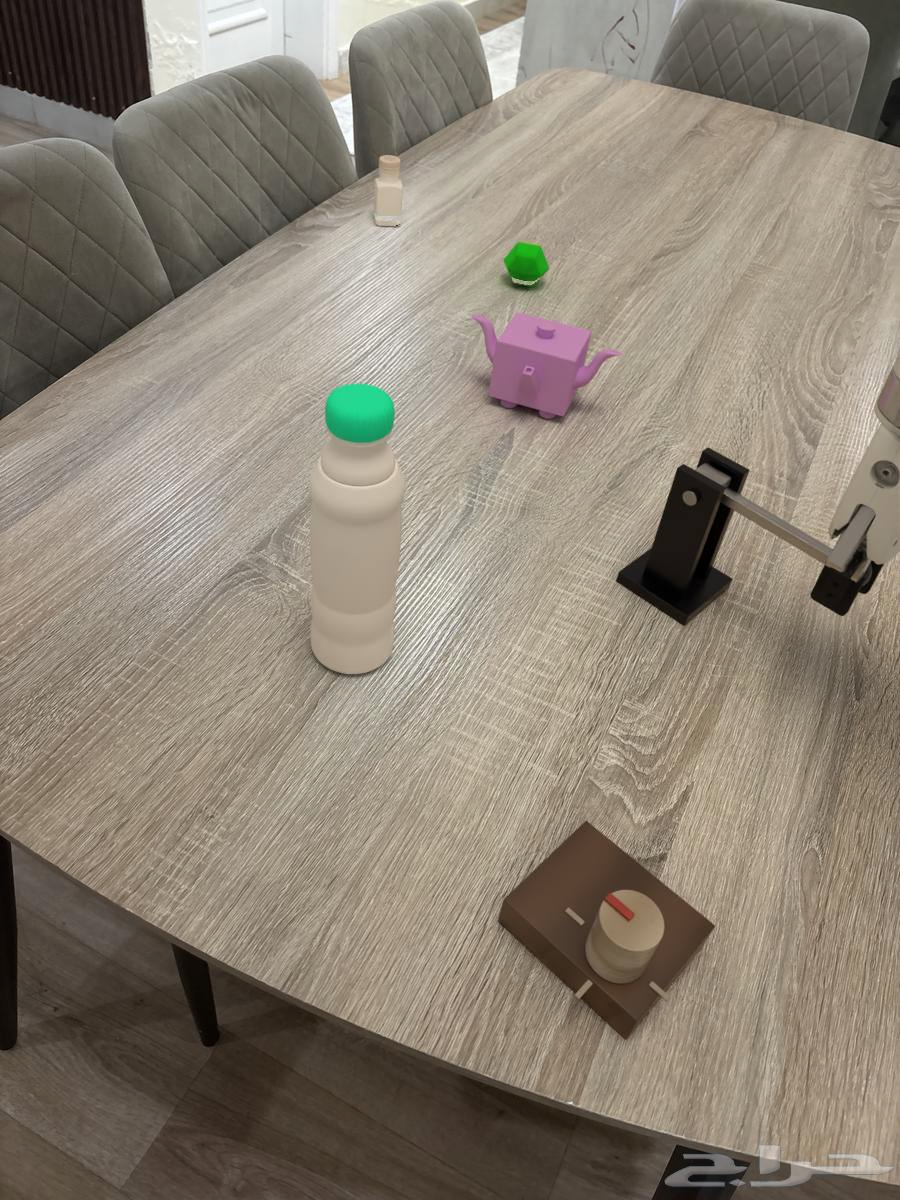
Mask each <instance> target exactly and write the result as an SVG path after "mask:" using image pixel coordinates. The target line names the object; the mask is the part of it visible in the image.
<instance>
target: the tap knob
mask: <svg viewBox="0 0 900 1200" xmlns="http://www.w3.org/2000/svg"><path fill="white" fill-rule="evenodd" d="M663 934H664V919H663V916H662V913H661V911H660V910H659V908H658V907H657V905H656V904H655V903H654V902H653V901H652V900H651V899H650V898H648V897H647V896H645V895H644V894H642V893H640V892H637V891H633V890H619V891H616V892H613V893H609V894H608V895H607V896H606V898H605V899H604V901H603V902H602V904H601V906H600V909H599V911H598V914H597V916H596V918H595V921H594V923H593V926H592V928H591V930H590V933H589V935H588V938H587V940H586V945H585V952H586V957H587V960H588V962H589V964H590V966H591V967H592V969H593V970H594V971H595V972H596V973H597V974H598V975H599V976H601V977H602V978H604V979H605V980H607V981H610V982H613V983H619V984H625V983H630V982H633V981H635V980H636V979H638V978H639V977H640V976H641V975H642V974H643V972H644V970H645V969H646V967H647V965H648V963H649V961H650V959H651V957H652V956H653V954H654V952H655V950H656V948H657V946H658V944H659V942H660V941H661V939H662V937H663Z"/></svg>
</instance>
